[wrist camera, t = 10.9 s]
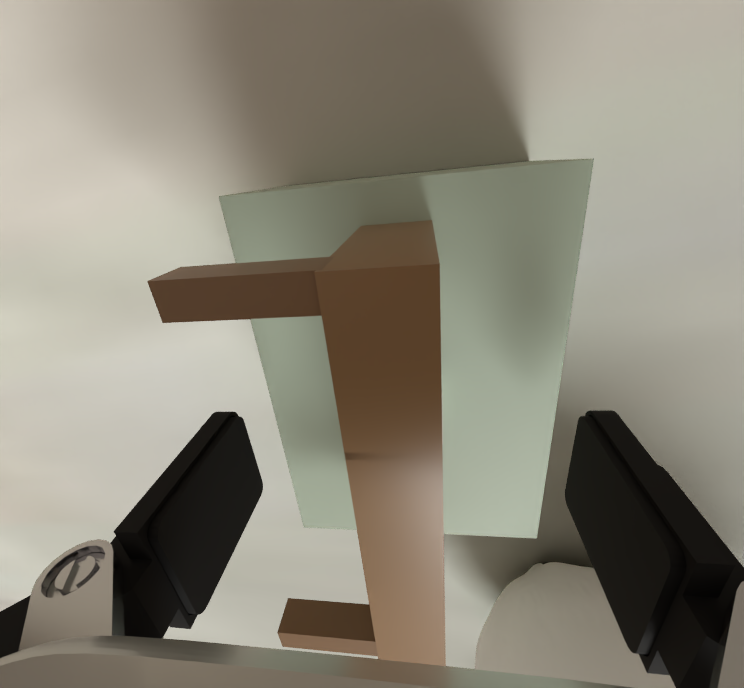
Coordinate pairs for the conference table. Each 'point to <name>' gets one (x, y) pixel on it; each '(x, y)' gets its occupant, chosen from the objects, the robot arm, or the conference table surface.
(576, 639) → the skull planter
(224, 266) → the wooden staple shape
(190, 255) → the conference table surface
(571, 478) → the robot arm
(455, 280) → the pale green box
